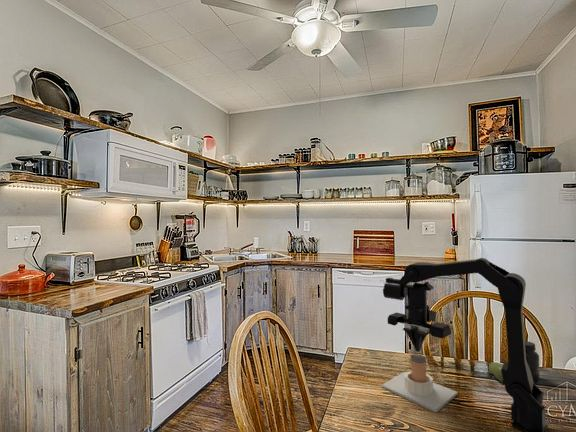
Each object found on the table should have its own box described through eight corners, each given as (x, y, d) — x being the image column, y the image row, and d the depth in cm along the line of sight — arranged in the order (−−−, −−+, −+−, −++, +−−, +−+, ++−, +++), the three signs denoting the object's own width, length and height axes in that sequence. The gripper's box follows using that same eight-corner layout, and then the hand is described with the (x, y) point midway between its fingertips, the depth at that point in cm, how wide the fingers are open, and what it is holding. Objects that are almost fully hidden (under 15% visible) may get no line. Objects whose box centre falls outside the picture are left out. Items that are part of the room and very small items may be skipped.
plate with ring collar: (457, 394, 101) (457, 380, 101) (436, 412, 92) (435, 397, 92) (404, 373, 115) (404, 361, 115) (381, 387, 106) (381, 374, 106)
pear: (498, 367, 106) (483, 359, 116) (500, 384, 105) (484, 375, 115) (516, 367, 106) (499, 359, 116) (518, 385, 105) (501, 375, 115)
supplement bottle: (544, 384, 106) (543, 347, 106) (520, 382, 107) (520, 346, 107) (532, 374, 113) (532, 339, 113) (511, 372, 114) (510, 338, 114)
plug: (429, 388, 103) (428, 357, 103) (422, 393, 100) (421, 361, 100) (415, 383, 106) (415, 353, 106) (408, 388, 103) (408, 356, 104)
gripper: (458, 303, 101) (459, 353, 101) (404, 293, 116) (405, 336, 116) (441, 310, 94) (442, 364, 94) (386, 298, 109) (387, 345, 108)
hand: (418, 351), depth 103 cm, fingers closed
